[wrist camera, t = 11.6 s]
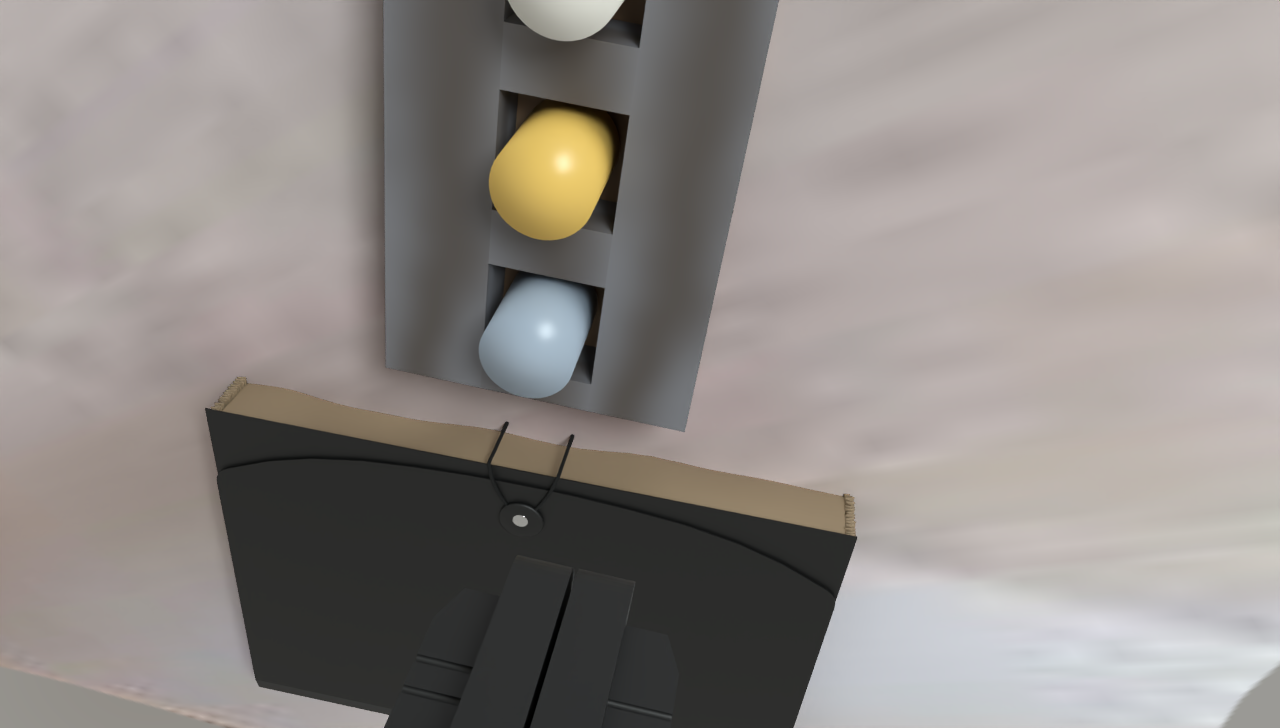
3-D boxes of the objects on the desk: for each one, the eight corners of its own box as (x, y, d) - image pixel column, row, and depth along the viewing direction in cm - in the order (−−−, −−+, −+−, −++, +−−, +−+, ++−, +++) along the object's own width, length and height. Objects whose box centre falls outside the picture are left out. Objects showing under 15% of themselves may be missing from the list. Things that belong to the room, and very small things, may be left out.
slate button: (508, 326, 45) (476, 387, 41) (514, 250, 43) (481, 306, 39) (592, 344, 45) (568, 407, 41) (602, 269, 43) (578, 327, 38)
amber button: (520, 177, 41) (486, 228, 37) (527, 85, 39) (492, 128, 34) (613, 196, 41) (588, 250, 36) (626, 104, 38) (601, 150, 34)
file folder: (858, 540, 46) (764, 815, 60) (857, 483, 49) (768, 756, 63) (200, 410, 48) (256, 703, 62) (241, 364, 52) (286, 652, 66)
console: (416, 322, 48) (385, 367, 44) (424, -214, 35) (382, -208, 31) (694, 382, 47) (684, 432, 44) (809, -144, 34) (807, -130, 31)
